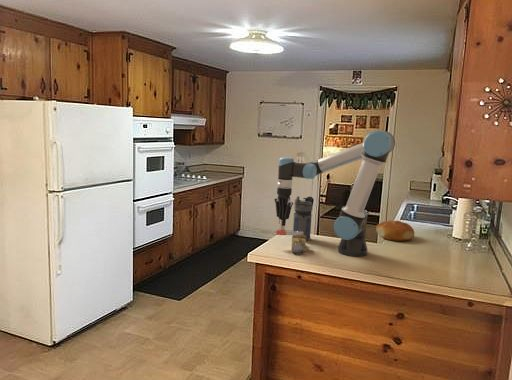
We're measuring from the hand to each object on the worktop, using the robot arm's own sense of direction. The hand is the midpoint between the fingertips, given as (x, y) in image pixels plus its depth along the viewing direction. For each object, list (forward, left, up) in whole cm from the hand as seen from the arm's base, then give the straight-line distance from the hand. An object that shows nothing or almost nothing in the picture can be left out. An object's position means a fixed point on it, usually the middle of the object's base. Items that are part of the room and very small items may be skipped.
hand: (281, 231), depth 220 cm
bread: (-65, -43, -9) cm, 79 cm away
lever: (-4, +2, -1) cm, 5 cm away
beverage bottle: (-10, -21, -9) cm, 25 cm away
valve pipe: (-9, +2, -9) cm, 13 cm away
